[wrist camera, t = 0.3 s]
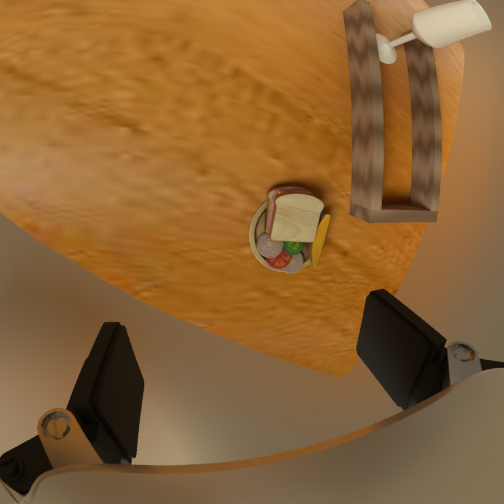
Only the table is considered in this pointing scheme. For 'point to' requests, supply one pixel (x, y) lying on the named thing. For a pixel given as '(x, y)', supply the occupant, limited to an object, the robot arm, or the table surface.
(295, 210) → the toy sandwich meal
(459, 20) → the champagne flute
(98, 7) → the table surface
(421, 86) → the walnut U-rest
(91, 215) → the table surface
